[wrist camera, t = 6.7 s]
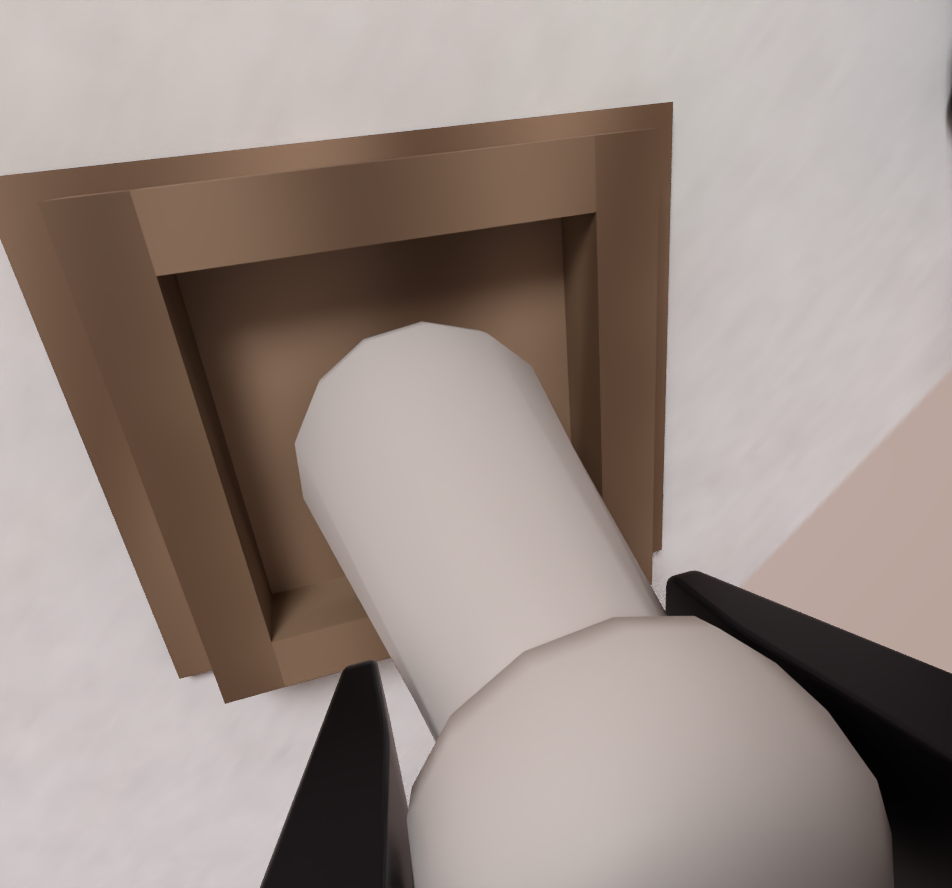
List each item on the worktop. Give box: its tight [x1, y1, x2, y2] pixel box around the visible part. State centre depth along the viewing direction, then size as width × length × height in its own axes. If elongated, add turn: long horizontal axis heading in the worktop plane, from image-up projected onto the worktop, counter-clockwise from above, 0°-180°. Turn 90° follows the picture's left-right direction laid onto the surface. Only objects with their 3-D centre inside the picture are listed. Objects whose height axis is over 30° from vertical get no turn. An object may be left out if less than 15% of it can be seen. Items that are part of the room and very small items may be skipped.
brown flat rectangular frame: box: [0, 102, 673, 704], centre depth 16 cm, size 15×13×2 cm
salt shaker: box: [295, 321, 894, 888], centre depth 11 cm, size 6×6×13 cm
